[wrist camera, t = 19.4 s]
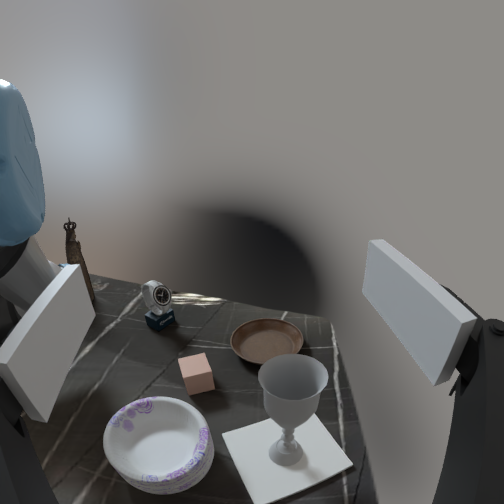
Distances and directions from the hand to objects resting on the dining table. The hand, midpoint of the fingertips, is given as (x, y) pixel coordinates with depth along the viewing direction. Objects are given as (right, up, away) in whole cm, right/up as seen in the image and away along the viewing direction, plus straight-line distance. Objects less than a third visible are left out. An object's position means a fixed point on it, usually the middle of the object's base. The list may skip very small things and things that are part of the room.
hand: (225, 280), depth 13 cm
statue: (-48, -13, +66) cm, 83 cm away
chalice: (+6, -28, +23) cm, 37 cm away
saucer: (+4, -19, +47) cm, 51 cm away
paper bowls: (-12, -30, +23) cm, 40 cm away
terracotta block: (-9, -23, +38) cm, 46 cm away
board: (+6, -29, +24) cm, 38 cm away
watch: (-21, -16, +56) cm, 62 cm away
